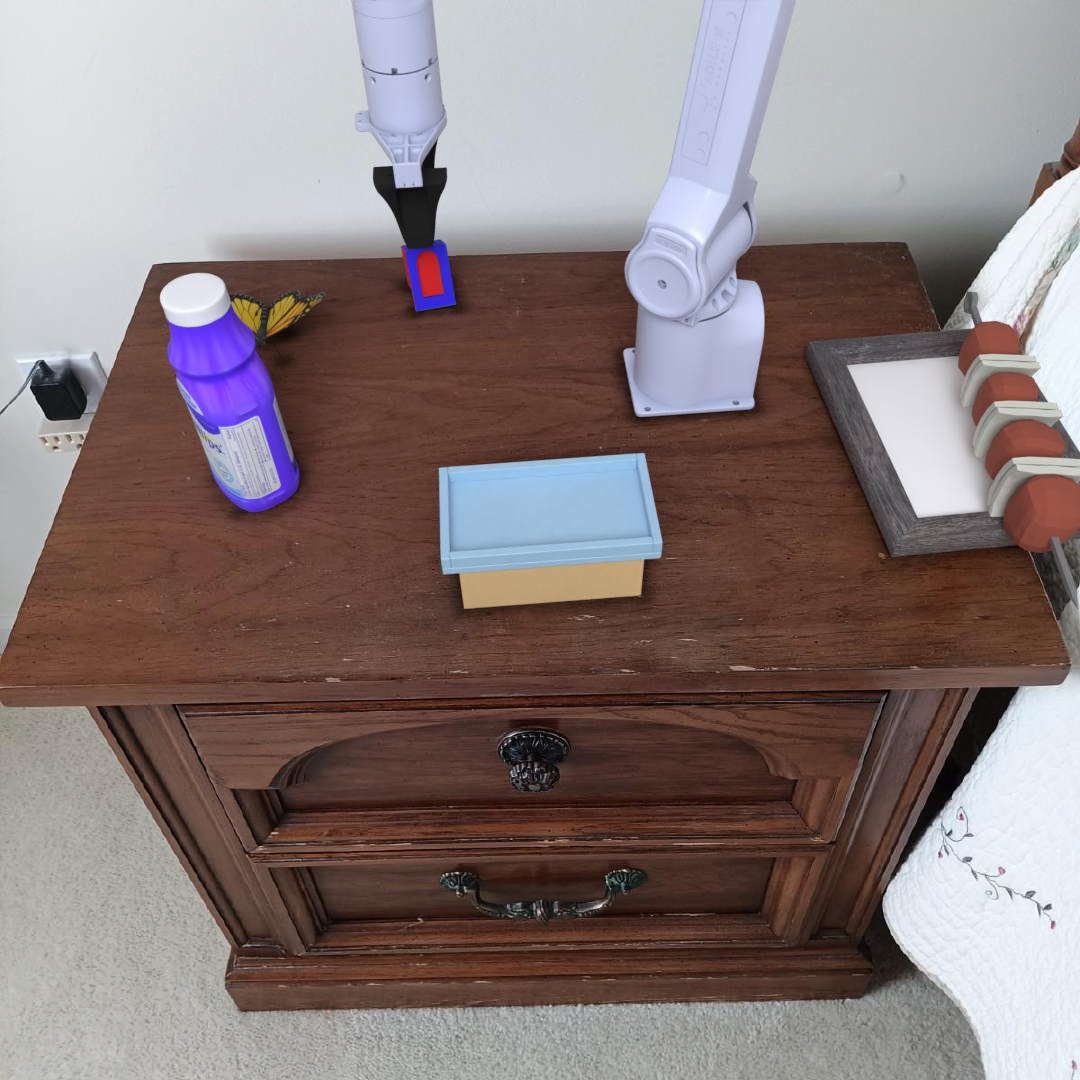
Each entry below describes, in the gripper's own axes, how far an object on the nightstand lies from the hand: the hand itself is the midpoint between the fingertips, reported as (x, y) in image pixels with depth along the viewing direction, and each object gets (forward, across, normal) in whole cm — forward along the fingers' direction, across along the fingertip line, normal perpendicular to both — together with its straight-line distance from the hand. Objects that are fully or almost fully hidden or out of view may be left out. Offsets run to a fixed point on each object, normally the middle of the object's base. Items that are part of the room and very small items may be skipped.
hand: (420, 219), depth 85 cm
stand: (+7, +32, +8) cm, 34 cm away
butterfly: (+7, +6, -14) cm, 17 cm away
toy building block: (+7, 0, 0) cm, 7 cm away
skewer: (+2, +12, +43) cm, 45 cm away
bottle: (+7, +22, -13) cm, 27 cm away
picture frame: (+6, +13, +39) cm, 41 cm away
